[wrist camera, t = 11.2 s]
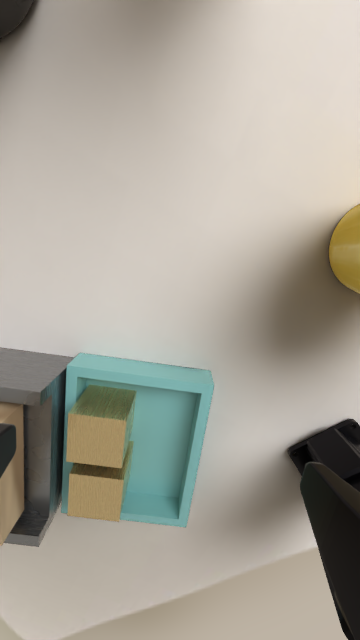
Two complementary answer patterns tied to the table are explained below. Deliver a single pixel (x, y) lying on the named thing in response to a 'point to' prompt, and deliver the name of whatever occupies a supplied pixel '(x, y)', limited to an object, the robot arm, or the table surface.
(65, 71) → the table surface
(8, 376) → the grey tray
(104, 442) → the brass block
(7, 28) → the ink bottle
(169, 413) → the teal tray
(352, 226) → the plant pot
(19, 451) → the light brown t-shaped block
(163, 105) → the table surface
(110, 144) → the table surface
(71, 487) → the brass block
